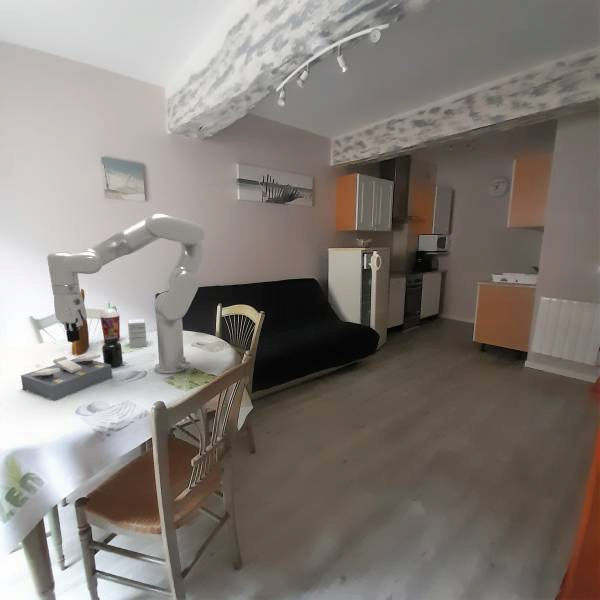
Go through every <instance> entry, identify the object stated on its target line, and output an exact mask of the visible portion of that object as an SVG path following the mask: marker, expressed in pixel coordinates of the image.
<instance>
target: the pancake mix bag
mask: <svg viewBox="0 0 600 600" xmlns="http://www.w3.org/2000/svg"><path fill="white" fill-rule="evenodd" d="M80 293H81V295H82V298H83V301H84V302H85V290H84V289H83V288H80ZM75 321H76V320H75ZM82 322H83V326H79V336H80V340H78V341H74V342H71V350H72V351H71V352H72V355H74V356H75V355H76V356H81V355H84V354H85V353H86V352H87V350H88V348H89V345H90V339H89V338H90V337H89V335H90V333H89V326H88V320H85V321H82Z"/></svg>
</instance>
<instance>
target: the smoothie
mask: <svg viewBox="0 0 600 600" xmlns="http://www.w3.org/2000/svg"><path fill="white" fill-rule="evenodd" d="M107 305H108V307H107V308H106V309H104V310H103V311H101V314H100V315H99V318H100V322H101V329H102V335H103V336H102V337H103V339H104V338H106V337H110V336H116V337H118V342H119V341H120V339H121V338H120V335H121V334H120V333H121V332H120V331H121V329H120V326H121V325H120V319H121V318H120V316H121V315H120V313H119V312H118V310H117V309H115V308H112V307H111V306H110V305H111V303H110V302H108V303H107Z"/></svg>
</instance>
